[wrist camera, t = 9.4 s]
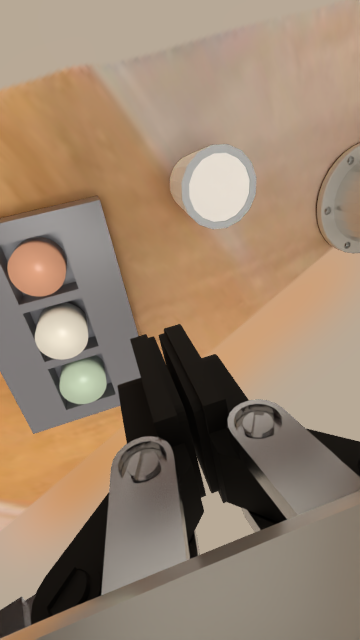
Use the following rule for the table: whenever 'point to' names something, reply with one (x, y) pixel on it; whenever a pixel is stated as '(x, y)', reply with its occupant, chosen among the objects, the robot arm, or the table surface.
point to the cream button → (62, 331)
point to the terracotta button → (37, 266)
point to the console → (78, 289)
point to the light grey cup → (214, 185)
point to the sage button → (83, 380)
